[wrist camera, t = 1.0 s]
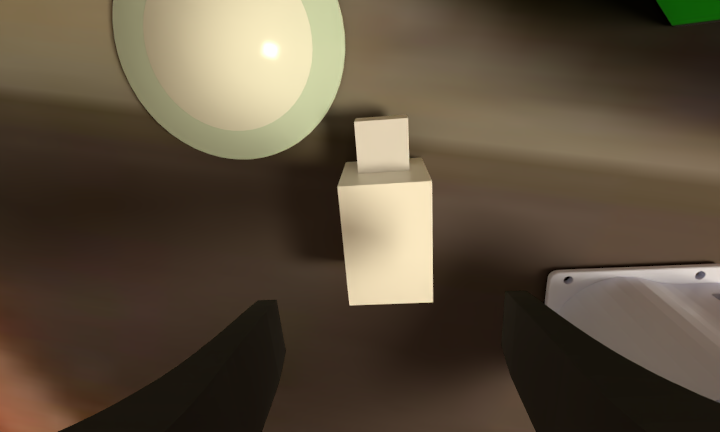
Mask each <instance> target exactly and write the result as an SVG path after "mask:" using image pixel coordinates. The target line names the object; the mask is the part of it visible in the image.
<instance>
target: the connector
mask: <svg viewBox="0 0 720 432" xmlns="http://www.w3.org/2000/svg"><path fill="white" fill-rule="evenodd" d="M354 127H355V139H356V151H357V161H356V162H346V163H345V166H344V169H343V172H342V175H341V177H340V180H339V183H338V186H337V189H338V199H339V208H340V218H341V228H342V238H343V247H344V257H345V267H346V277H347V286H348V296H349V305H375V304H402V303H429V302H433V241H432V180H431V178H430V175H429V173H428V171H427V169H426V166H425V164H424V162H423V160H422V157H419V158H409V137H408V117H407V115H394V116H380V117H367V118H356V119H355V121H354Z"/></svg>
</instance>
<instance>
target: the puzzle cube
mask: <svg viewBox="0 0 720 432" xmlns="http://www.w3.org/2000/svg"><path fill="white" fill-rule="evenodd" d="M656 2H657V3H658V5H659V6H660V8H661V10H662V11H663V13H664V14H665V16H666V17H667V19H668V21H669V22H670V24H671V25H672V26H689V25H697V24H705V23H714V22H720V0H656Z"/></svg>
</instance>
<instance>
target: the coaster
mask: <svg viewBox="0 0 720 432" xmlns="http://www.w3.org/2000/svg"><path fill="white" fill-rule="evenodd" d="M112 22H113V31H114V39H115V44H116V48H117V53H118V56H119V59H120V62H121V65H122V68H123V71H124V73H125V75H126V77H127V79H128V82H129V84H130V86H131V87H132V89H133V91H134V92H135V94H136V96H137V97H138V99H139V100H140V102H141V103H142V104H143V106H144V107H145V108H146V110H147V111H148V112H149V113H150V114H151V116H152V117H153V118H154V119H155V120H156V121H157V122H158V123H159V124H160V125H161V126H162V127H164V128H165V129H166V130H167V131H168V132H169V133H171V134H172V135H173V136H175V137H176V138H178V139H179V140H181V141H182V142H184V143H186V144H188V145H189V146H191V147H193V148H195V149H197V150H200V151H203V152H205V153H208V154H211V155H215V156H218V157H222V158H230V159H256V158H263V157H267V156H270V155H274V154H277V153H279V152H282V151H284V150H286V149H288V148H290V147H292V146H293V145H295V144H297V143H298V142H300V141H301V140H302V139H303V138H305V137H306V136H307V135H308V134H309V133H311V132H312V131H313V129H314V128H315V127H316V126H317V125H318V124H319V123H320V122H321V121H322V119H323V118H324V116H325V115H326V113H327V112H328V111H329V109H330V107H331V105H332V103H333V101H334V99H335V97H336V94H337V92H338V89H339V86H340V83H341V79H342V75H343V70H344V63H345V53H346V47H345V30H344V23H343V17H342V13H341V10H340V6H339V2H338V0H113V19H112Z"/></svg>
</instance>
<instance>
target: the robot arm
mask: <svg viewBox="0 0 720 432" xmlns="http://www.w3.org/2000/svg"><path fill="white" fill-rule="evenodd" d="M698 272H699V274H698V275H696V273H698ZM695 275H696V276H695ZM568 276H570V278H569V279H568V280H566V281H563V280H564V278H566V277H568ZM501 346H502V349H503V353H504V356H505V360H506V363H507V366H508V369H509V372H510V375H511V378H512V380H513V382H514V384H515V387H516V389H517V391H518V393H519V396H520V398H521V400H522V402H523V404H524V407H525V409H526V411H527V413H528V415H529V418H530V420H531V422H532V424H533V426H534V428H535V431H536V432H720V264H694V265H669V266H643V267H618V268H593V269H567V270H555V271H552V272H551V273H550V274H549V275H548V278H547V287H546V295H545V304H544V303H542V302H541V301H540V300H538V299H537V298H536V297H534V296H533V295H531V294H530V293H528V292H527V291H505V301H504V315H503V328H502V342H501ZM285 352H286V350H285V344H284V339H283V333H282V328H281V322H280V317H279V311H278V306H277V300H258V301H257V302H256V303H254V304H253V305H252V306H251V307H249V308H248V309H247V310H246V311H245V312H244V313H243V314H241V315H240V316H239V317H238V318H237V319H236V320H235V321H233V322H232V323H231V324H230V325H229V326H228V327H226V328H225V329H224V330H223V331H222V332H221V333H219V334H218V335H217V336H216V337H215V338H214V339H212V340H211V341H210V342H208V343H207V344H206V345H205V346H203V347H202V348H201V349H200V350H198V351H197V352H196V353H194V354H193V355H192V356H191V357H189V358H188V359H187V360H185V361H184V362H183V363H181V364H180V365H178V366H177V367H175V368H174V369H172V370H171V371H169V372H168V373H166V374H165V375H163V376H162V377H160V378H159V379H157V380H156V381H154V382H153V383H151V384H149V385H148V386H146V387H144V388H142V389H141V390H139V391H137V392H135V393H134V394H132V395H130V396H128V397H127V398H125V399H123V400H122V401H120V402H118V403H116V404H114V405H112V406H110V407H109V408H107V409H105V410H103V411H101V412H99V413H97V414H95V415H93V416H91V417H89V418H87V419H84V420H82V421H80V422H78V423H76V424H74V425H72V426H70V427H67V428H65V429H63V430H61V431H58V432H262V430H263V427H264V424H265V421H266V419H267V416H268V413H269V410H270V407H271V404H272V401H273V398H274V396H275V393H276V390H277V387H278V384H279V381H280V376H281V372H282V367H283V362H284V357H285Z"/></svg>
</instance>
